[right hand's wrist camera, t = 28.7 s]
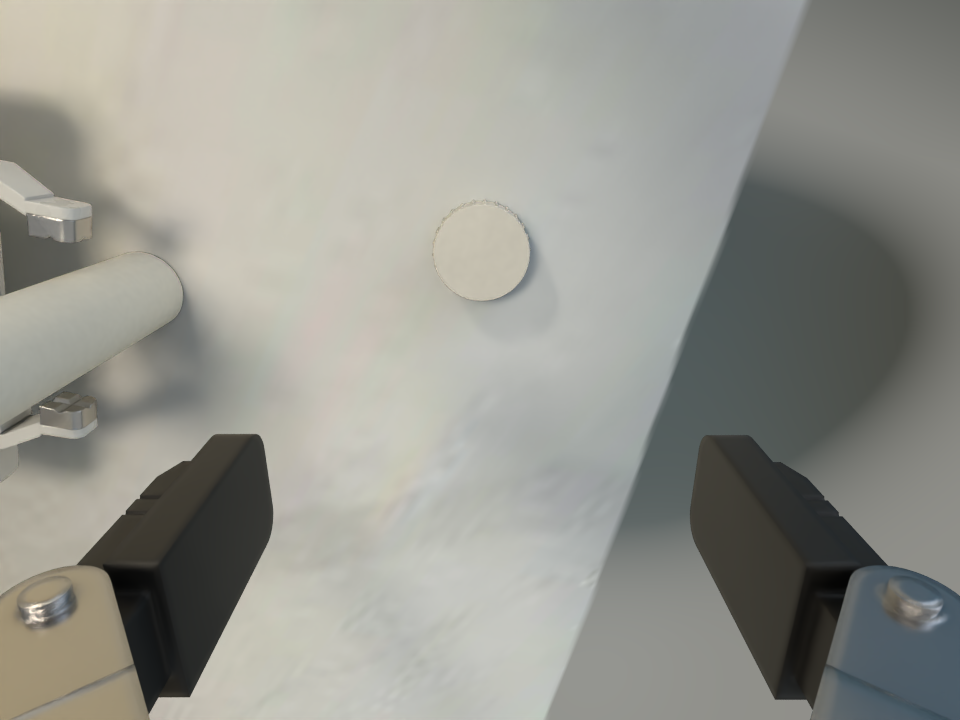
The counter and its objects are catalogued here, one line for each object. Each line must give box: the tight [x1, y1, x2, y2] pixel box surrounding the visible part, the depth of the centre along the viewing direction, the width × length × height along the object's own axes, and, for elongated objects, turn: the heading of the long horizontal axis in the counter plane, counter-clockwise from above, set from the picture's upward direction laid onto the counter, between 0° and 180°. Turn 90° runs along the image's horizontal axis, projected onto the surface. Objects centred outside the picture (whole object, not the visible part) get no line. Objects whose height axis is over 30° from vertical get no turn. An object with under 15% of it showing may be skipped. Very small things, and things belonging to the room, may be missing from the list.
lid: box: [432, 199, 531, 301], centre depth 32 cm, size 5×5×2 cm
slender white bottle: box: [0, 252, 183, 426], centre depth 25 cm, size 4×4×19 cm
